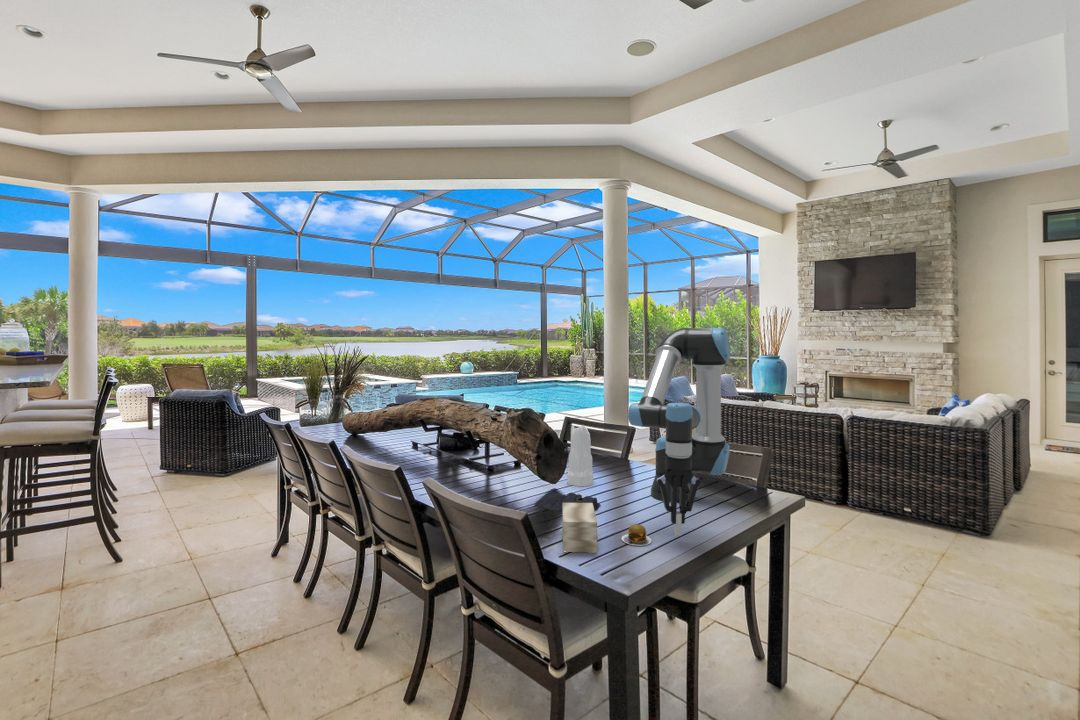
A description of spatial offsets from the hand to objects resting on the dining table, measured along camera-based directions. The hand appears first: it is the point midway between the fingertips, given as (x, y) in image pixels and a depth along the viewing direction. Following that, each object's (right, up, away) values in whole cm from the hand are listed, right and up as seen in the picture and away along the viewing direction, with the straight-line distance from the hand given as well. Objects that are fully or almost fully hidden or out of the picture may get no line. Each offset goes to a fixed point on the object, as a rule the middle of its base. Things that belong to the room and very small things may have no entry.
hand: (677, 533), depth 151 cm
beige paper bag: (-29, -2, +1) cm, 29 cm away
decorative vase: (-24, 0, +63) cm, 67 cm away
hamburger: (-12, -3, +1) cm, 13 cm away
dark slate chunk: (-31, -2, +33) cm, 45 cm away
